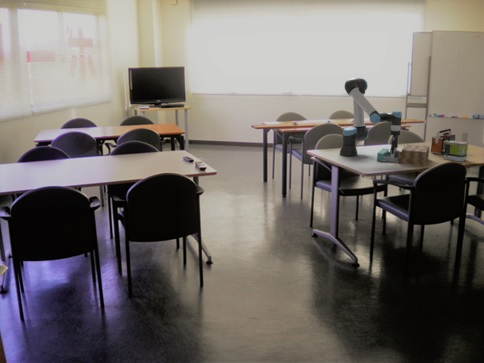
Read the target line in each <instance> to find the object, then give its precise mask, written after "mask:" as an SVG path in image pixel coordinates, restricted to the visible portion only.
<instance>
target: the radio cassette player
mask: <svg viewBox="0 0 484 363" xmlns="http://www.w3.org/2000/svg"><path fill="white" fill-rule="evenodd" d="M448 141H456V134H452V128H447V129H442V130H439V131H437V132H436V135H435V136H433V137H431V147H430V153H431V154H437V155H440V154H441V155H443V154H444V152H445V143H446V142H448Z"/></svg>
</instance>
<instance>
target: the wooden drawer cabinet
mask: <svg viewBox="0 0 484 363" xmlns="http://www.w3.org/2000/svg"><path fill="white" fill-rule="evenodd" d="M430 148H431V147H430V146H428V145H417V144H415V145H414V144H406V145H405V146H403V148H402V150H401V151H400V150H398V151H399V157H398V162H397V164H401V165H402V164H403V165H411V166H419V167H420V166H421V167H422V166H423V167H424V166H425V165H426V164H427V163H428V161H429V155H430Z"/></svg>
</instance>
